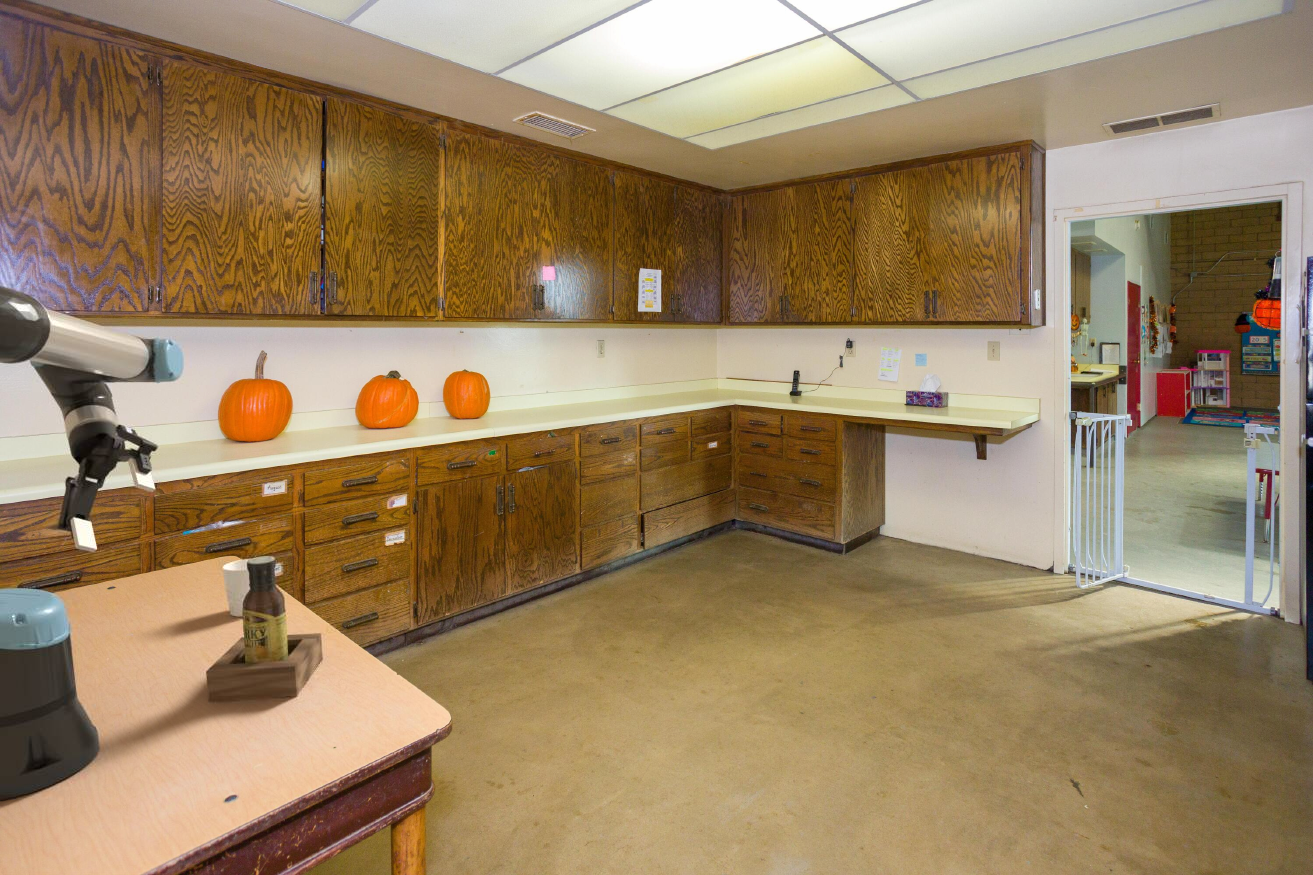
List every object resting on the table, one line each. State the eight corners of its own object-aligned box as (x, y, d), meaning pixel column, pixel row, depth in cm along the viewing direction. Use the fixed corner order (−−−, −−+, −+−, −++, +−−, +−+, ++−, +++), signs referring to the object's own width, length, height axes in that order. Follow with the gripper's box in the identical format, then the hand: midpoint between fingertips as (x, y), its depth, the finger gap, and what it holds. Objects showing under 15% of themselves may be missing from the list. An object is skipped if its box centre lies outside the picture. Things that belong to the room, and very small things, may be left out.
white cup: (249, 619, 147) (245, 571, 145) (217, 616, 149) (213, 568, 147) (278, 605, 154) (275, 559, 153) (248, 602, 156) (244, 557, 155)
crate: (297, 696, 116) (294, 666, 115) (208, 701, 114) (206, 671, 113) (322, 660, 128) (320, 632, 128) (243, 664, 127) (241, 637, 126)
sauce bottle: (238, 679, 120) (227, 561, 117) (272, 663, 125) (263, 551, 122) (265, 687, 117) (255, 566, 114) (298, 670, 123) (290, 555, 120)
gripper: (165, 395, 130) (192, 470, 118) (70, 494, 130) (87, 578, 119) (122, 376, 123) (146, 454, 112) (22, 480, 124) (35, 568, 113)
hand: (116, 518), depth 115 cm, fingers open, 13 cm apart
